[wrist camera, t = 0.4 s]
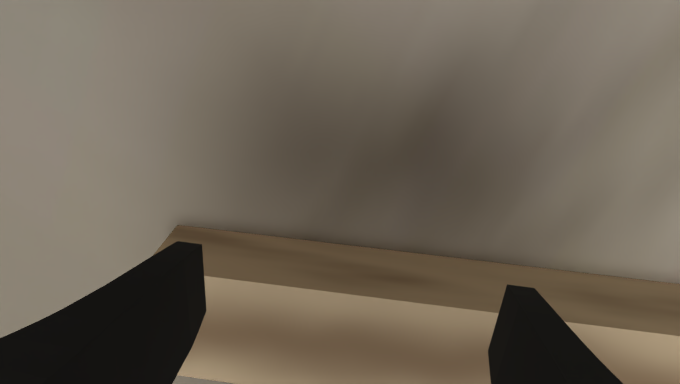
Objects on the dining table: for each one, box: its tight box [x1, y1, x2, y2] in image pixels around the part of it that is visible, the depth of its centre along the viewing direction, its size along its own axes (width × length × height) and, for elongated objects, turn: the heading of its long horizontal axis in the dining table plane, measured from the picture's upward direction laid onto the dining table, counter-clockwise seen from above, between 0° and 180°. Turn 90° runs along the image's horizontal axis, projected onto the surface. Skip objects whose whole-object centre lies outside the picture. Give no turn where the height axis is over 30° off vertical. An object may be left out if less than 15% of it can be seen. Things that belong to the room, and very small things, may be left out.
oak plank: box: [154, 225, 680, 384], centre depth 22 cm, size 6×28×4 cm, turn 87°
